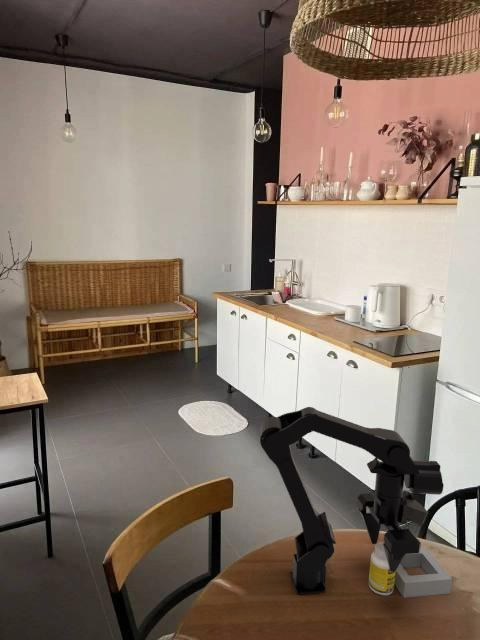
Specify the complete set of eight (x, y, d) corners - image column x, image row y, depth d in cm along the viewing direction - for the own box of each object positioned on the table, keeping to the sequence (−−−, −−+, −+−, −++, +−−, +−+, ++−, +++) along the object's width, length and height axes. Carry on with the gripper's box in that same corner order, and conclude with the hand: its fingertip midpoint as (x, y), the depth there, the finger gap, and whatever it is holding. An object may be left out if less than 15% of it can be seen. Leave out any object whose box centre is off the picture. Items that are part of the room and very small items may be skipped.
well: (403, 597, 101) (404, 583, 100) (381, 563, 112) (382, 550, 111) (450, 593, 103) (452, 579, 102) (424, 560, 113) (425, 547, 113)
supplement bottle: (388, 600, 100) (392, 558, 99) (364, 588, 103) (367, 548, 102) (397, 586, 104) (400, 546, 103) (373, 575, 108) (377, 536, 106)
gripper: (448, 513, 92) (441, 584, 95) (403, 468, 111) (397, 529, 113) (395, 516, 91) (389, 588, 93) (358, 470, 109) (353, 532, 111)
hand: (383, 556), depth 103 cm, fingers open, 9 cm apart
